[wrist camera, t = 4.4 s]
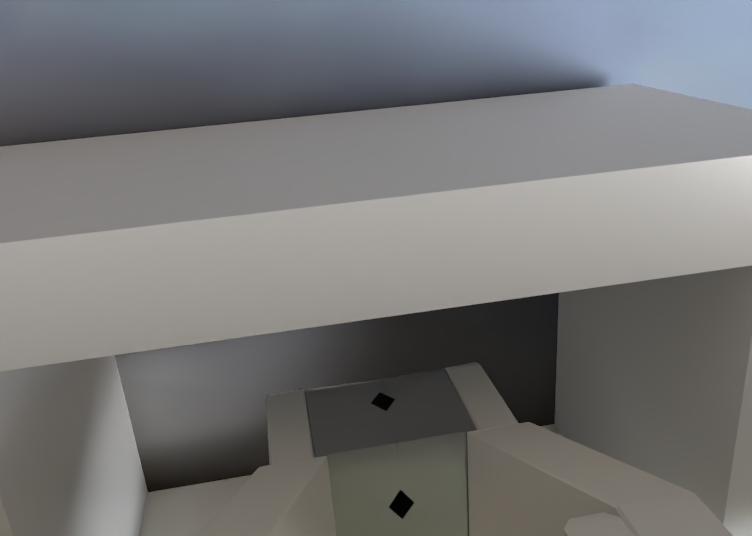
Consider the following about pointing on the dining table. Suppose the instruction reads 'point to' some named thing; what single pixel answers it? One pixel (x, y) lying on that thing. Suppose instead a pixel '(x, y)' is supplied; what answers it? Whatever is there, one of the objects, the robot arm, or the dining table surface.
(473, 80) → the dining table surface
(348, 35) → the dining table surface
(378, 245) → the white low frame
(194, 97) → the dining table surface
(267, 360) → the dining table surface
